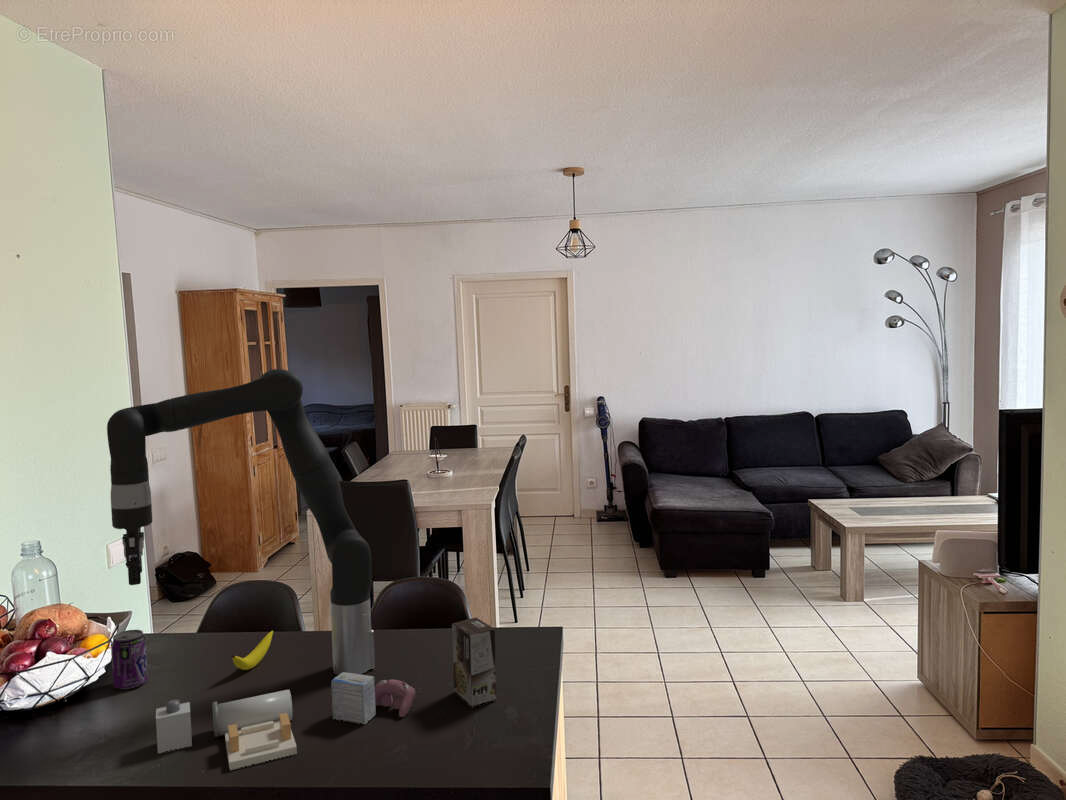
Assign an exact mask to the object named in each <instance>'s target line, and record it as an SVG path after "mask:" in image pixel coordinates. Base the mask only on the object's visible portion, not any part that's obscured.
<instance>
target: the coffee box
mask: <svg viewBox="0 0 1066 800" xmlns="http://www.w3.org/2000/svg"><path fill="white" fill-rule="evenodd" d="M451 629H452V631H451V632H452V635H451V636H452V660H453V661H452V662H453V663H452V664H453V685H454V686H453V690H454V691H455V692H456V693H458V694H459V695H460V696H461V697H462V698H463V699H465V700H466V701H467V702H468V703H469V704H470V705H471V706H473V705H477V704H481V703H484V702H487V701H491V700H493V699H496V700H497V674H496V670H497V668H496V666H497V665H496V662H497V661H496V628H494V627H492V626H491V625H490V624H488V623H487V622H485V621H483V620H481V619H480V618H477V617H471V618H467V619H464V620H461V621H457V622H453V623H451ZM455 692H454V693H455ZM456 693H455V694H456ZM463 699H462V700H463ZM469 704H468V705H469ZM470 705H469V706H470ZM471 706H470V707H471Z"/></svg>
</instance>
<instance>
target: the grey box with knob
mask: <svg viewBox="0 0 1066 800" xmlns="http://www.w3.org/2000/svg"><path fill="white" fill-rule="evenodd" d="M155 722H156V723H155V726H156V728H155V729H156V744H157V754H158V753H159V754H163V752H164V753H167V752H166V751H168V752H171V751H170V750H172V751H176V750H175V749H177V750H180V748H181V749H185V747H186V748H190V747H193V742H192V741H193V740H192V737H193V736H192V722H191V703H190V702H189V701H187V702H183V703H182V702H181V701H180V700H179V699H171V700H169V701H167V702H166V703H165V706H162V707H159V708H156V709H155Z"/></svg>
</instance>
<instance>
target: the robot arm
mask: <svg viewBox="0 0 1066 800" xmlns="http://www.w3.org/2000/svg"><path fill="white" fill-rule="evenodd" d="M303 390H304V387H303V384H302V381H301V379H300V378H299V377H298V376H297V375H296V374H294V372H292V371H289V370H286V369H281V368H272V369H270V370H267V371H265V372H264V373H263V374H262V375H261V376H260V377H259V378H257V379H255V380H252V381H250V382H247V383H244V384H239V385H236V386H230V387H228V388H221V389H216V390H215V389H214V390H207V391H202V392H201V391H200V392H195V393H191V394H184V395H181V396H177V397H171V398H167V399H164V400H161V401H159V402H154V403H149V404H141V405H135V406H134V405H133V406H131V407H125V408H121V409H119V410H117V411H115V412H114V413H113V414H112V415H111V416H110V418H109V419H108V421H107V423H106V424H107V425H106V433H107V435H106V436H107V443H108V449H109V456H110V466H109V468H110V470H109V472H110V484H111V485H110V487H111V488H110V507H111V508H110V510H111V523H112V524H111V526H112V527H113V529H116V530H124V531H125V533H124V534H122V537H121V539H122V545H123V556H124V559H125V566H126V568H127V578H128V585H130V586H135V585H140V584H142V583H141V582H142V579H141V578H142V577H141V575H142V574H141V573H143V562H142V561H143V560H142V559H143V558H142V556H143V555H144V552H143V550H144V549H145V548H144V547H145V546H144V542H145V532H144V531H142V528H143V527H148V526H150V525H152V523H153V506H152V504H153V503H152V490H151V486H150V479H149V478H150V476H149V462H148V459H147V454H146V453H147V452H146V451H147V450H146V448H147V446H146V441H147V440H146V437H148V436H153V435H156V434H160V433H173V432H177V431H178V432H179V431H181V430H186V429H190V428H194V427H198V426H201V425H205V424H209V423H212V422H216V421H220V420H222V419H227V418H231V417H234V416H240V415H245V414H250V413H256V412H267V413H268V415H269V416H270V419H271V420H272V423H273V425H274V426H275V429H276V430H277V432H278V435H279V438H280V441H281V446H282V449H283V451H284V455H285V457H286V460H287V461H286V462H287V463H288V465H289V468H290V469H289V470H290V471H291V474H292V476H293V479H294V481H295V483H296V485H297V487H298V490H299V492H300V494H301V496H302V498H303V500H304V501H305V503H306V505H307V507H308V509H309V510H310V512H311V514H312V515H313V517H314V519H315V520H316V523H317V526H318V528H319V532H320V535H321V538H322V541H323V542H322V543H323V544H324V548H325V552H326V555H327V558H328V560H329V562H330V564H331V573H332V574H331V575H332V576H331V578H332V581H331V582H332V583H331V584H332V588H331V589H330V615H331V616H330V617H331V620H330V621H331V644H332V645H331V646H332V650H331V651H332V671H334V672H333V674H335V675H337V674H338V675H339V674H341V673H342V672H346V673H354V674H361V675H363V674H362V673H364V674H366V673H368V672H369V671H368V670H370V669H373V670H375V669H374V668H375V666H376V665H375V664H376V663H375V643H374V642H375V639H374V635H375V633H374V630H373V629H372V628H373V627H372V619H371V618H372V617H371V615H372V614H371V589H372V585H373V584H372V582H373V581H372V580H373V578H372V576H373V575H372V574H373V572H372V571H373V570H372V569H373V566H372V562H373V560H372V552H371V547H370V544H369V543H368V542H367V540H365V539H364V537H362V536H361V535H360V533H359V532H358V530H357V529H356V527H355V525H354V523H353V521H352V519H351V518H350V515H349V514H348V512H347V508H346V507H345V503H344V499H343V491H342V486H341V483H340V479H339V476H338V473H337V471H336V468H335V465H334V463H333V461H332V459H331V456H330V454H329V452H328V450H327V448H326V447H325V445H324V443H323V441H322V440H321V439H320V437H319V435H318V434H317V432H316V430H315V429H314V427H313V426H312V424H311V423H310V421H309V419H308V415H307V413H306V410H305V407H304V405H303V402H302V399H301V398H302V396H303V392H304V391H303ZM367 671H368V672H367ZM370 671H371V670H370ZM365 672H366V673H365ZM338 675H337V676H338Z"/></svg>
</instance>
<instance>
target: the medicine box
mask: <svg viewBox="0 0 1066 800" xmlns="http://www.w3.org/2000/svg"><path fill="white" fill-rule="evenodd" d="M331 701H332V702H331V704H332V719H333V720H335V719H336V721H341V720H343V722H348V721H349V722H348V723H354V722H355V723H356V724H360V723H361V724H362V725H366V724H368V721H369V720H370V721H371V720H372V719H373V717H375V716H376V715H377V712H376V710H377V709H376V706H375V676H372V675H366V674H354V673H346V672H342V673H341V674H339V675H336V676H335V677H334V678H333V679H332V680H331ZM370 721H369V722H370Z"/></svg>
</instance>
